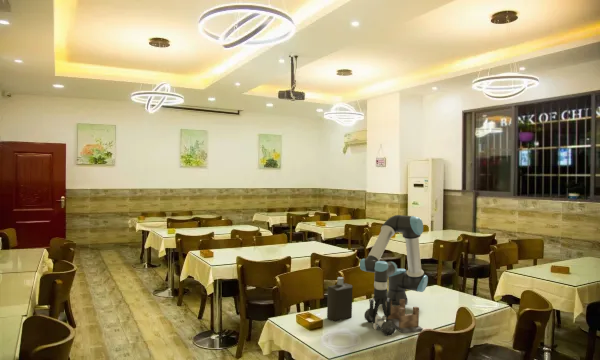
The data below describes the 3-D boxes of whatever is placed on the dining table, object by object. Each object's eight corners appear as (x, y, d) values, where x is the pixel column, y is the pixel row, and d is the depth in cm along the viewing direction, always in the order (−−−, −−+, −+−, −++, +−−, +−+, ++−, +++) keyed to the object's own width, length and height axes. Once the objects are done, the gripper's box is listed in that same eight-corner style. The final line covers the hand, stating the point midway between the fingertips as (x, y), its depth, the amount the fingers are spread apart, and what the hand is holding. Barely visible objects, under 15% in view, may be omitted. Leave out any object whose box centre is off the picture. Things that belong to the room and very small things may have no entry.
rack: (402, 333, 239) (403, 311, 239) (382, 318, 262) (382, 298, 262) (422, 330, 243) (423, 309, 243) (400, 316, 266) (401, 297, 266)
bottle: (353, 317, 264) (354, 277, 263) (333, 322, 254) (335, 281, 254) (344, 313, 270) (345, 274, 270) (325, 318, 261) (326, 278, 260)
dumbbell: (382, 336, 234) (382, 322, 234) (364, 322, 256) (364, 309, 255) (395, 334, 236) (395, 320, 236) (376, 320, 258) (376, 307, 258)
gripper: (369, 291, 239) (368, 331, 239) (397, 289, 245) (396, 328, 245) (363, 287, 246) (362, 327, 247) (391, 285, 252) (390, 324, 252)
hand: (379, 327), depth 246 cm, fingers open, 5 cm apart
